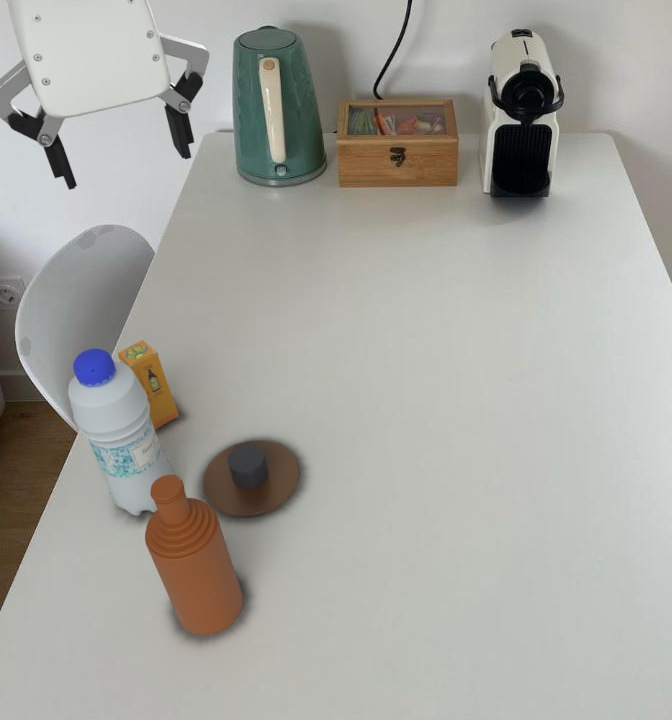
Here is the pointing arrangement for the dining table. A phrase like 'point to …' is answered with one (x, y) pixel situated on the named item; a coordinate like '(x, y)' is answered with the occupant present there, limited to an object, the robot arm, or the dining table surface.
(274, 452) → the coaster
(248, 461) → the cap
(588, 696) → the dining table surface
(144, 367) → the supplement box
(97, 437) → the bottle
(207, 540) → the sauce bottle
